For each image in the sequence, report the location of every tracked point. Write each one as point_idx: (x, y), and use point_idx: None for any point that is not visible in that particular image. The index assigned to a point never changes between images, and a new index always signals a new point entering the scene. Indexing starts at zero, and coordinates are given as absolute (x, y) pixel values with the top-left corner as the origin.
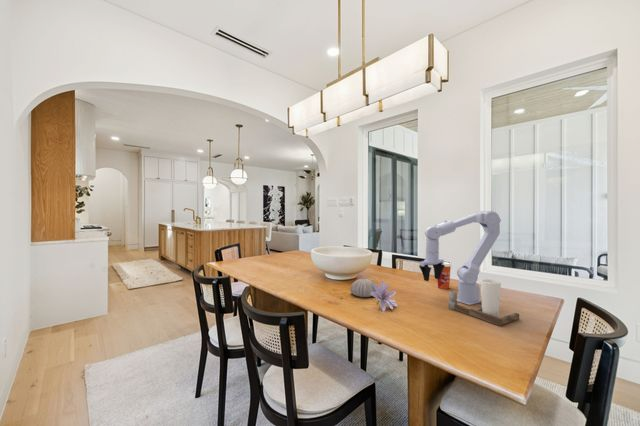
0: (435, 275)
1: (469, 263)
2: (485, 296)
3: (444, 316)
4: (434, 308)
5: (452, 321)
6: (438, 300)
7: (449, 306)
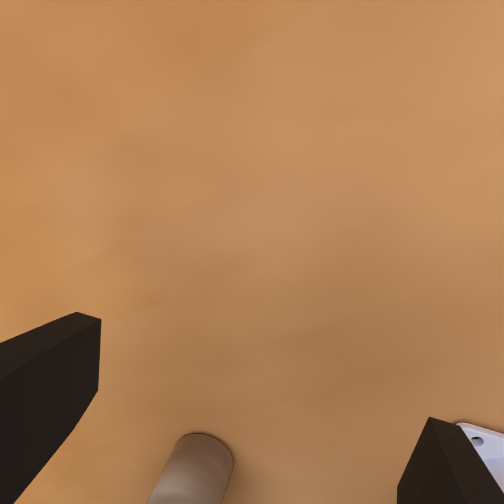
0: (438, 491)
1: None
2: None
3: None
4: None
5: None
6: (323, 311)
7: (170, 455)
